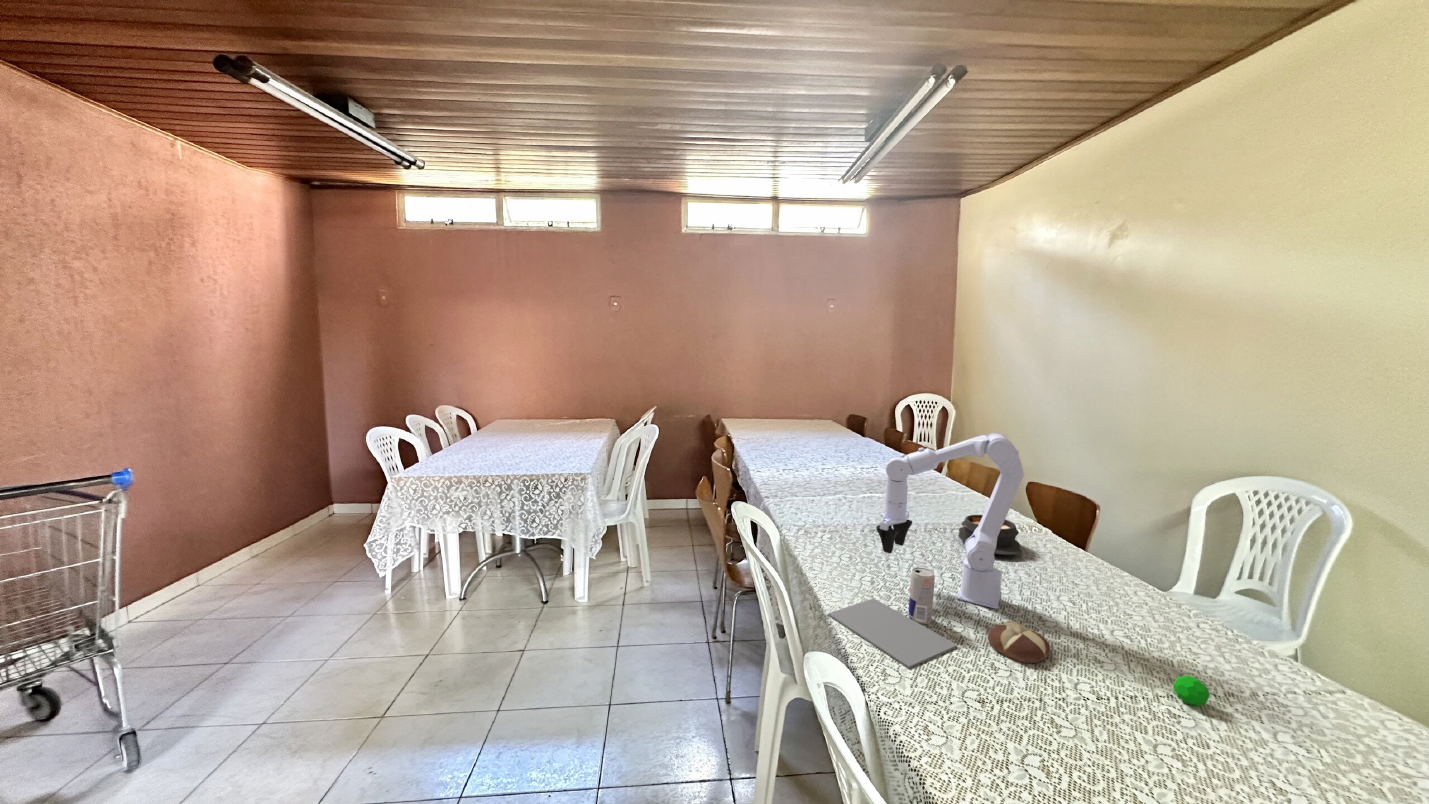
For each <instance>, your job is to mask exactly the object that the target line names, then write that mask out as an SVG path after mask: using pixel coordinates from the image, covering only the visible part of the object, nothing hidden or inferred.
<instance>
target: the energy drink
mask: <svg viewBox="0 0 1429 804" xmlns="http://www.w3.org/2000/svg"><path fill="white" fill-rule="evenodd" d="M935 579H936V577H935V573H934V572H933V570H931V569H928V568H925V567H914V568H912V570H911V572H910V582H909V583H910V585H909V597H908V598H909V599H908V602H909V603H908V612H907V614H908V618H910V619H912V620H913V621H915V622H917V623H919V624H921V625H928V624H930V623H932V621H933V607H934V592H935Z"/></svg>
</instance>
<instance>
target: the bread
mask: <svg viewBox="0 0 1429 804" xmlns="http://www.w3.org/2000/svg"><path fill="white" fill-rule="evenodd" d="M987 641H988V644H989V645H990V646H991V647H992V648H993V649H994V650H995V651H996V652H998V653H1000V654H1003V655H1004V656H1006V657H1008V658H1010V659H1013V660H1016V661H1017V662H1019V663H1025V664H1034V663H1036V664H1037V663H1039V662H1042V661H1043V660H1044V659H1045V658H1047V657H1049V655H1050V653H1051V646H1050V644H1049V641H1048V640H1047V639H1046V638H1045V637H1044V636H1043V635H1042V634H1040V633H1038V632H1037V631H1035V630H1032V629H1030V630H1028V628H1027V627H1025V626H1024V625H1023V624H1021V623H1020V622H1018V621H1007V622H1004V623H1002V624H996V625H994V626H993V627H992V628H991V629H990V630H989V632H988V636H987Z"/></svg>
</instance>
